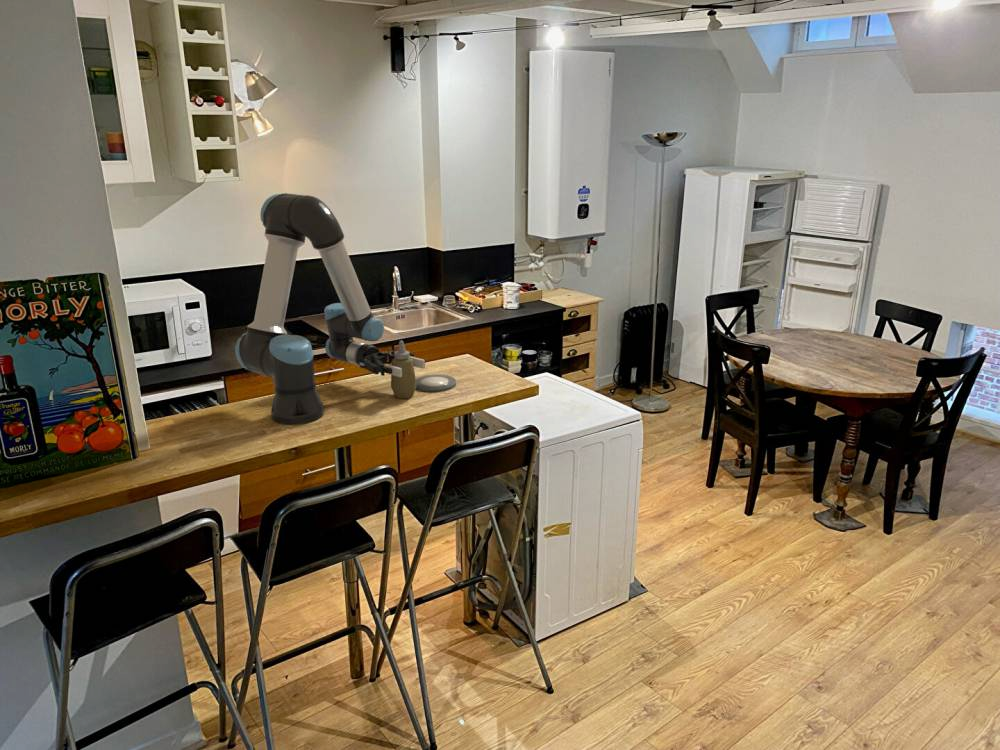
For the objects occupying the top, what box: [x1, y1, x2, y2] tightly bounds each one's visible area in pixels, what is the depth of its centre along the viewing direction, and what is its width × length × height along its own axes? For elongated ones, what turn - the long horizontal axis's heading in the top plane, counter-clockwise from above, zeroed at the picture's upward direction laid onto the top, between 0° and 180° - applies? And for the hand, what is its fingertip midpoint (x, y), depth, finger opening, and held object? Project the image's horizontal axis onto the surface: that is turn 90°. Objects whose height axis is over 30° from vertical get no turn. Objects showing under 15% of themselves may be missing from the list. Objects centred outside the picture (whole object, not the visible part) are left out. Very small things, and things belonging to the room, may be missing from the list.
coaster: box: [415, 374, 457, 393], centre depth 248 cm, size 14×14×1 cm
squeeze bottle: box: [390, 340, 417, 399], centre depth 236 cm, size 8×8×18 cm
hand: (412, 368), depth 233 cm, fingers open, 9 cm apart
